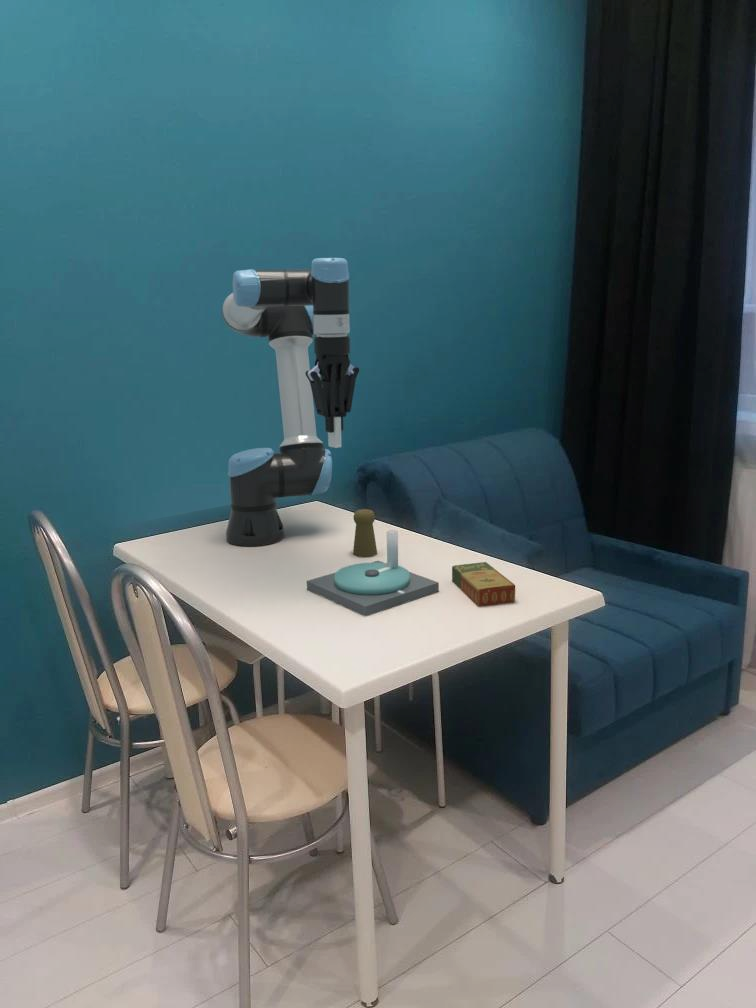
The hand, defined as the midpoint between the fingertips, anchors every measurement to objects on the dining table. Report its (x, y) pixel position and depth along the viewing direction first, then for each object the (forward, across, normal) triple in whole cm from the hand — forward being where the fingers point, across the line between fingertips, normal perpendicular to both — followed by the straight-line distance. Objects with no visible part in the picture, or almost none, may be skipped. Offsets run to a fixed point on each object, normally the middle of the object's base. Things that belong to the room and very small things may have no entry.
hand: (335, 446), depth 169 cm
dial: (+27, -1, -13) cm, 30 cm away
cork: (+30, +14, +8) cm, 34 cm away
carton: (+30, +15, -29) cm, 45 cm away
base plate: (+29, -1, -13) cm, 32 cm away
